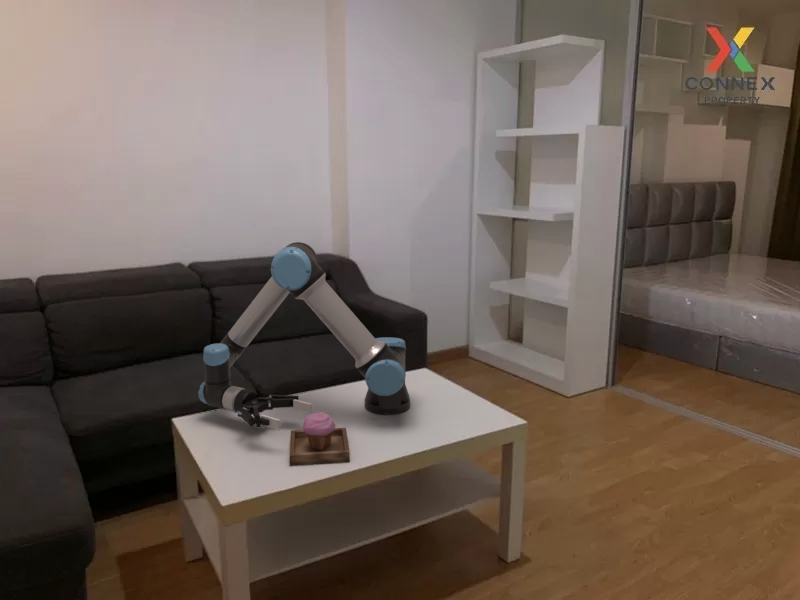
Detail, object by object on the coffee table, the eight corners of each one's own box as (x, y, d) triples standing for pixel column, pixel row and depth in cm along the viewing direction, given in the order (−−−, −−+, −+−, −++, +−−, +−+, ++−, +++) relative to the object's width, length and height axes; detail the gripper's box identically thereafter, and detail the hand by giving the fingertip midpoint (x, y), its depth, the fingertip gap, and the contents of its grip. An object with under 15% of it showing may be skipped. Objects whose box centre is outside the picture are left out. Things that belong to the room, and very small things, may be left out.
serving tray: (346, 436, 190) (345, 427, 189) (349, 462, 174) (349, 452, 173) (291, 440, 187) (290, 430, 187) (289, 466, 172) (289, 455, 171)
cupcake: (324, 456, 175) (323, 422, 173) (297, 450, 179) (296, 416, 176) (340, 443, 183) (340, 410, 181) (315, 437, 186) (314, 405, 184)
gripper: (270, 399, 205) (323, 413, 194) (210, 427, 184) (265, 444, 173) (269, 377, 203) (322, 390, 192) (208, 402, 182) (264, 419, 172)
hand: (295, 416), depth 183 cm, fingers open, 13 cm apart
